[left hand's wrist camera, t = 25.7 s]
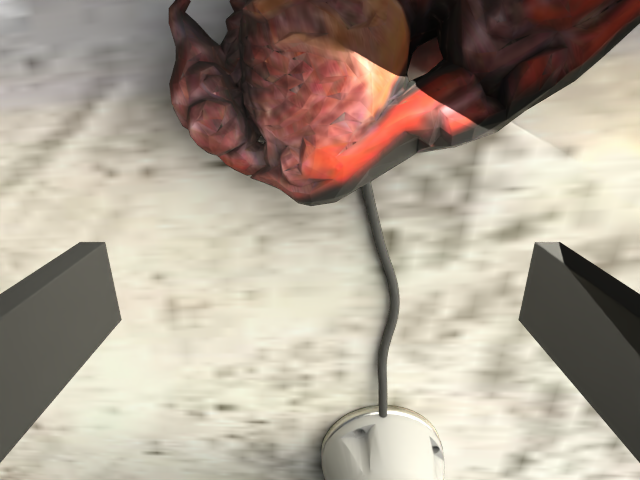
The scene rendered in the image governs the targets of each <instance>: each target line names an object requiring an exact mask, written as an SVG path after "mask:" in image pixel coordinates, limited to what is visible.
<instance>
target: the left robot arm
mask: <svg viewBox="0 0 640 480" xmlns="http://www.w3.org/2000/svg"><path fill="white" fill-rule="evenodd" d="M362 192H363V196H364V201H365V205H366V209H367V213H368V217H369V221H370V225H371V229H372V233H373V237H374V241H375V245H376V248H377V251H378V254H379V257H380V260H381V263H382V265H383V268H384V271H385V274H386V277H387V281H388V285H389V292H390V311H389V317H388V321H387V324H386V328H385V331H384V334H383V337H382V341H381V344H380V349H379V356H378V383H379V406H370V407H365V408H362V409H359V410H356V411H353V412H351V413H349V414H347V415H345V416H344V417H342V418H341V419H339V420H338V421H337V422H336V423H335V424H334V425H333V426H332V427H331V428H330V429H329V431H328V432H327V434H326V435H325V438H324V440H323V443H322V448H321V463H322V470H323V475H324V478H325V480H444V454H443V448H442V445H441V442H440V439H439V436H438V433H437V431H436V429H435V428H434V426H433V425H432V424H431V423H430V422H429V421H428V420H427V419H426V418H424V417H423V416H421V415H420V414H418V413H416V412H414V411H412V410H409V409H406V408H403V407H398V406H390V405H387V370H386V369H387V355H388V350H389V346H390V342H391V339H392V336H393V333H394V330H395V327H396V323H397V319H398V314H399V289H398V283H397V279H396V275H395V272H394V269H393V266H392V263H391V260H390V257H389V255H388V252H387V248H386V245H385V242H384V238H383V234H382V229H381V225H380V221H379V217H378V213H377V209H376V204H375V200H374V195H373V191H372V186H371V181H370V182H369V183H367V184H365V185H364V186H362ZM120 321H121V316H120V311H119V306H118V301H117V297H116V292H115V287H114V282H113V278H112V273H111V268H110V263H109V259H108V254H107V249H106V244H105V242H80V243H78V244H76V245H75V246H73V247H72V248H70V249H69V250H67V251H66V252H64V253H63V254H61V255H60V256H58V257H57V258H55V259H53V260H52V261H50V262H49V263H47V264H46V265H44V266H43V267H41V268H40V269H38V270H37V271H35V272H34V273H32V274H31V275H29V276H27V277H26V278H24V279H23V280H21V281H20V282H18V283H17V284H15V285H14V286H12V287H11V288H9V289H8V290H6V291H5V292H3V293H1V294H0V462H1V461H2V460H3V459H4V458H5V457H6V455H7V454H8V453H9V452H10V451H11V450H12V448H13V447H14V446H15V445H16V444H17V442H18V441H19V440H20V439H21V438H22V437H23V435H24V434H25V433H26V432H27V431H28V429H29V428H30V427H31V426H32V425H33V424H34V422H35V421H36V420H37V419H38V418H39V416H40V415H41V414H42V413H43V412H44V411H45V409H46V408H47V407H48V406H49V405H50V403H51V402H52V401H53V400H54V399H55V398H56V396H57V395H58V394H59V393H60V392H61V390H62V389H63V388H64V387H65V386H66V385H67V383H68V382H69V381H70V380H71V379H72V378H73V376H74V375H75V374H76V373H77V372H78V370H79V369H80V368H81V367H82V366H83V365H84V363H85V362H86V361H87V360H88V359H89V357H90V356H91V355H92V354H93V353H94V352H95V350H96V349H97V348H98V347H99V346H100V344H101V343H102V342H103V341H104V340H105V339H106V337H107V336H108V335H109V334H110V333H111V331H112V330H113V329H114V328H115V327H116V326H117V324H118V323H119V322H120ZM519 321H520V322H521V323H522V324H523V326H524V327H525V328H526V329H527V330H528V331H529V333H530V334H531V335H532V336H533V337H534V339H535V340H536V341H537V342H538V343H539V344H540V346H541V347H542V348H543V349H544V350H545V352H546V353H547V354H548V355H549V356H550V357H551V359H552V360H553V361H554V362H555V363H556V365H557V366H558V367H559V368H560V369H561V370H562V372H563V373H564V374H565V375H566V376H567V378H568V379H569V380H570V381H571V382H572V383H573V385H574V386H575V387H576V388H577V389H578V390H579V392H580V393H581V394H582V395H583V396H584V398H585V399H586V400H587V401H588V402H589V403H590V405H591V406H592V407H593V408H594V409H595V411H596V412H597V413H598V414H599V415H600V416H601V418H602V419H603V420H604V421H605V422H606V424H607V425H608V426H609V427H610V428H611V429H612V431H613V432H614V433H615V434H616V435H617V437H618V438H619V439H620V440H621V441H622V442H623V444H624V445H625V446H626V447H627V448H628V450H629V451H630V452H631V453H632V454H633V455H634V457H635V458H636V459H637V460H638V461H639V462H640V294H639V293H637V292H635V291H634V290H632V289H631V288H629V287H628V286H626V285H625V284H623V283H622V282H620V281H619V280H617V279H616V278H614V277H613V276H611V275H609V274H608V273H606V272H605V271H603V270H602V269H600V268H599V267H597V266H596V265H594V264H593V263H591V262H590V261H588V260H587V259H585V258H583V257H582V256H580V255H579V254H577V253H576V252H574V251H573V250H571V249H570V248H568V247H567V246H565V245H564V244H562V243H560V242H535V244H534V249H533V254H532V259H531V263H530V268H529V273H528V278H527V282H526V287H525V292H524V297H523V301H522V306H521V311H520V316H519Z"/></svg>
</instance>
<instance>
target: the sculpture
mask: <svg viewBox="0 0 640 480" xmlns="http://www.w3.org/2000/svg"><path fill="white" fill-rule="evenodd" d="M190 2H191V1H190V0H175V1H174V3H173V4H172V5H171V6H170V7H169V26H170V29H171V33H172V36H173V39H174V43H175V46H176V61H175V65H174V68H173V72H172V76H171V79H170V83H169V86H170V94H171V101H172V105H173V108H174V111H175V113H176V114H177V116H178V118H179V120H180V122H181V124H182V126H183V127H185V128H186V129H188V130H189V133H190V136H191V137H192V139H193V140H194V141H195V142H196V144H197V145H198V146H199V147H201V148H202V149H203V150H205V151H206V152H207V153H210V154H214V155H217V156H218V157H219V158H220V159H221V160H222V161H223V162H224V163H225V164H226V165H228V166H229V167H231V168H233V169H234V170H236V171H238V172H240V173H243V174H245V175H252V176H251V178H252V179H255V180H258V181H261V182H264V183H267V184H269V185H271V186H274V187H276V188H278V189H280V190H282V191H283V192H284V193H286V194H287V195H288V196H290V197H291V198H292V199H293V200H295V201H296V202H297V203H300V204H304V205H309V206H314V205H321V204H327V203H333V202H337V201H338V200H340V199H342V198H343V197H345V196H347V195H348V194H350V193H352V192H353V191H355V190H357V189H359V188H360V187H362V186H364V185H365V184H367V183H369V182H370V181H372V180H374V179H375V178H377V177H379V176H380V175H382V174H384V173H385V172H387V171H388V170H390V169H392V168H393V167H395V166H397V165H398V164H400V163H401V162H403V161H405V160H406V159H408V158H410V157H411V156H413V155H414V154H416V153H420V152H427V151H433V150H440V149H446V148H452V147H457V146H460V145H462V144H465V143H468V142H471V141H473V140H476V139H479V138H482V137H484V136H487V135H490V134H493V133H496V132H498V131H499V130H500V129H502V128H503V127H504V126H506V125H507V124H508V123H510V122H511V121H512V120H514V119H515V118H516V117H518V116H519V115H520V114H522V113H523V112H524V111H526V110H527V109H529V108H531V107H532V106H534V105H536V104H537V103H539V102H541V101H542V100H544V99H546V98H547V97H549V96H551V95H552V94H554V93H556V92H557V91H559V90H561V89H562V88H564V87H566V86H567V85H569V84H571V83H572V82H574V81H575V80H577V79H578V78H579V77H580V76H581V75H582V74H584V73H585V72H586V71H587V70H588V69H589V68H591V67H592V66H593V65H594V64H595V63H596V62H598V61H599V60H600V59H601V58H602V57H603V56H605V55H606V54H607V53H608V52H609V51H610V50H611V49H612V48H613V47H614V46H615V45H616V44H618V43H619V42H620V41H621V40H622V39H623V38H624V37H625V36H626V35H627V34H628V33H630V32H631V31H632V30H633V29H634V28H635V27H636V26H637V25H638V24H639V23H640V0H230V4H231V6H232V8H233V10H234V13H233V14H232V15H231V16H229V17H228V18H227V19H226V25H227V29H228V32H227V34H226V36H225V38H224V40H223V42H222V43H221V45H219V44H217V43H216V42H215V41H214V40H212V39H211V38H210V37H209V36H208V34H207V33H206V32H205V31H204V30H203V29H202V28H201V27H200V26H199V25H198V23H197V22H196V21H194V20H193V19H192V18H191V17H190V16H189V15H188V14H187V13H186V12H185V11H186V9H187V8H188V6H189V4H190ZM435 37H438V42H439V47H440V51H441V53H442V56H443V58H444V59H443V60H442V61H441V62H440V63H439V64H438V65H436V66H435V67H434V68H433V69H432V70H431V71H430V72H428V73H427V74H425V75H423V76H420V77H418V78H416V79H414V80H411V81H409V79H408V75H407V71H408V67H409V64H410V60H411V57H412V54H413V52H414V51H415V49H416V47H417V46H419V45H421V44H423V43H425V42H427V41H429V40H431V39H433V38H435ZM260 136H263V138H264V140H265V143H264V144H262V143H259V142H257V141H258V139H259V137H260Z"/></svg>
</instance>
